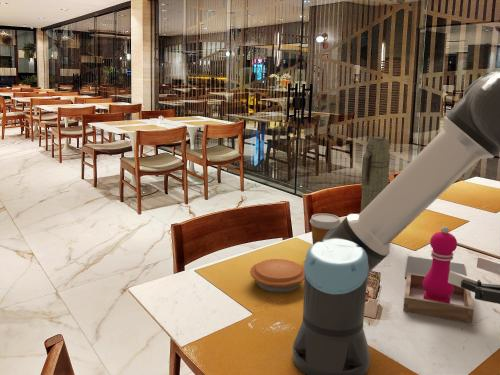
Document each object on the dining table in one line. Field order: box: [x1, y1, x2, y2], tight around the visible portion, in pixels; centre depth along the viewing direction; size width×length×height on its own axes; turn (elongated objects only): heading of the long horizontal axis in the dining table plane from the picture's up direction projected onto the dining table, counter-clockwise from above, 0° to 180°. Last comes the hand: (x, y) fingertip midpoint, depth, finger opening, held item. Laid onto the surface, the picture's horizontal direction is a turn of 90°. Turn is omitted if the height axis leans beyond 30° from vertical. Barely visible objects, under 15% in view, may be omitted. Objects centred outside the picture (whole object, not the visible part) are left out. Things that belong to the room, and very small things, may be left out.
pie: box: [249, 258, 305, 294], centre depth 121 cm, size 15×16×5 cm
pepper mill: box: [422, 226, 458, 303], centre depth 110 cm, size 7×7×20 cm
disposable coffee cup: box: [309, 213, 342, 245], centre depth 140 cm, size 10×10×12 cm
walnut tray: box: [402, 272, 475, 324], centre depth 112 cm, size 15×15×4 cm
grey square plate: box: [404, 255, 467, 280], centre depth 129 cm, size 16×16×1 cm
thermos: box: [360, 136, 391, 213], centre depth 152 cm, size 9×12×35 cm
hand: (464, 268), depth 105 cm, fingers open, 13 cm apart
